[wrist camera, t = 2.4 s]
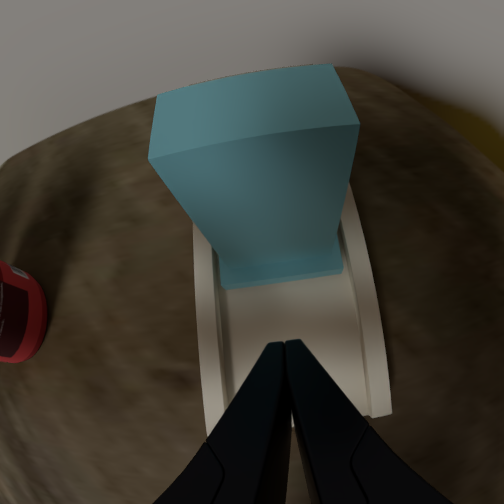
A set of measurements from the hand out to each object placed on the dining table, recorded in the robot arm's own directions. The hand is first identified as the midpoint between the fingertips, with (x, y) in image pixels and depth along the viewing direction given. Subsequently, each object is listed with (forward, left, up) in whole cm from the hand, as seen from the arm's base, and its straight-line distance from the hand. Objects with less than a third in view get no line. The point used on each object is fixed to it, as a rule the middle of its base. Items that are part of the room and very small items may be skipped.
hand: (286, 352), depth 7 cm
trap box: (+4, -6, -9) cm, 11 cm away
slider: (+3, -5, -7) cm, 9 cm away
